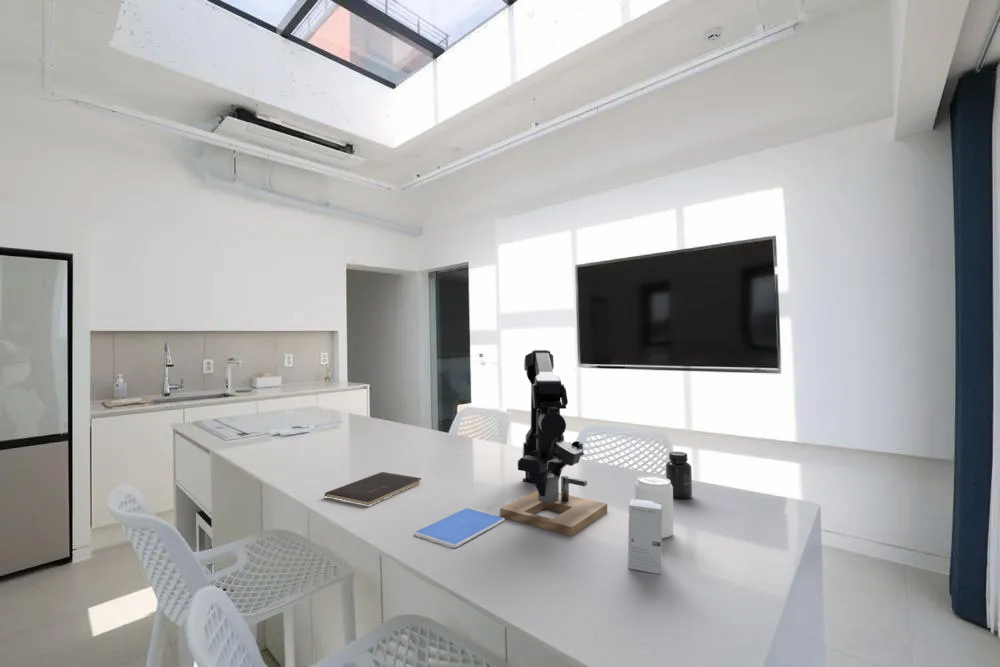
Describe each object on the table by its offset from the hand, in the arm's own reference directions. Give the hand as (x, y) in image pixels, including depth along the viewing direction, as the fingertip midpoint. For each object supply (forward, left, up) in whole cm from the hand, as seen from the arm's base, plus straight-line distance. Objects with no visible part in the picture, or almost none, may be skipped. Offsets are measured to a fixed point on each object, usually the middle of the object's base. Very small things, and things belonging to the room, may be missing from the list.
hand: (548, 493), depth 114 cm
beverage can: (+24, +6, -6) cm, 26 cm away
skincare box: (+28, -11, -6) cm, 31 cm away
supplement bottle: (+21, +36, -6) cm, 43 cm away
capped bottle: (0, 0, -2) cm, 2 cm away
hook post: (+3, +8, -4) cm, 10 cm away
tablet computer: (-13, -18, -7) cm, 23 cm away
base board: (0, +3, -6) cm, 7 cm away
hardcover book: (-51, -13, -7) cm, 53 cm away
